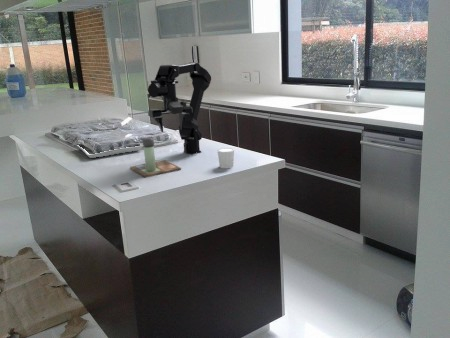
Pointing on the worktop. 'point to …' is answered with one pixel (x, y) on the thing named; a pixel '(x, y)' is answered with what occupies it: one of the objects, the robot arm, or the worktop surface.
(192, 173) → the worktop surface
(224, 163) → the white cup
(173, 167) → the picture board
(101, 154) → the square plate
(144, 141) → the cylinder
